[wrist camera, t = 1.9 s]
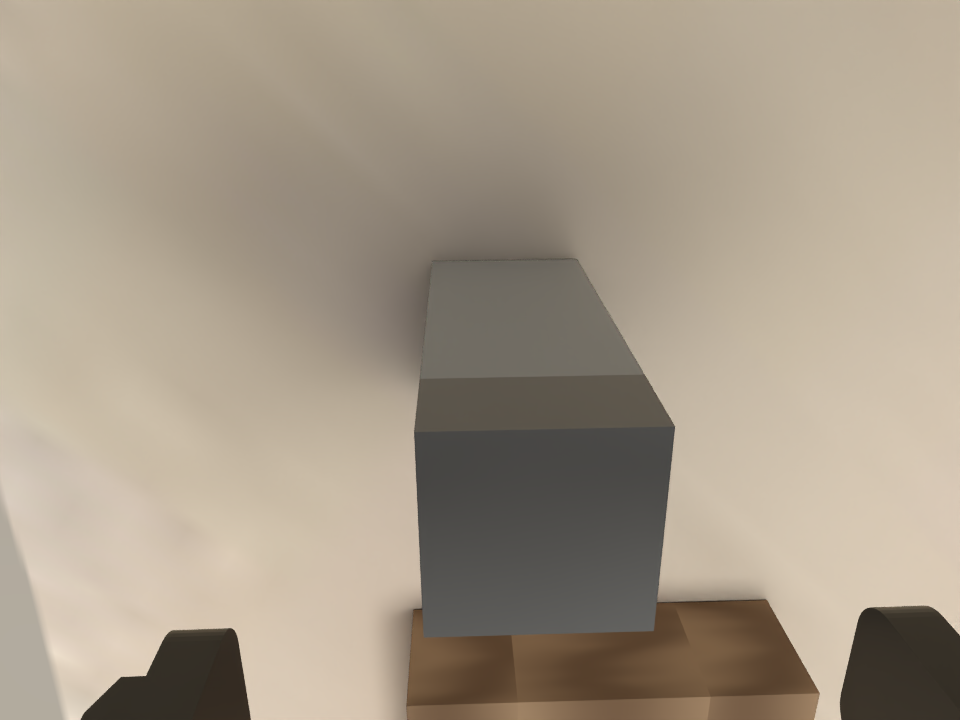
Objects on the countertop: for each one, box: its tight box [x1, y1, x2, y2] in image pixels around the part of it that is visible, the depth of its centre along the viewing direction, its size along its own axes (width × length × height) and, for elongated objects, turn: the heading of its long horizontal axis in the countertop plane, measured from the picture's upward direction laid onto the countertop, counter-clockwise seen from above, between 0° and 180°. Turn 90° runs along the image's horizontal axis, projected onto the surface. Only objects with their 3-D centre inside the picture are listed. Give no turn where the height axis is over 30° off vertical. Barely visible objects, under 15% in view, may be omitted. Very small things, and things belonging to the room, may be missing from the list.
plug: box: [414, 259, 675, 638], centre depth 17 cm, size 4×4×10 cm
